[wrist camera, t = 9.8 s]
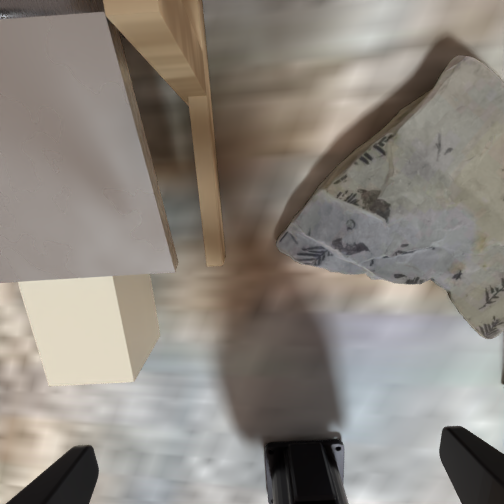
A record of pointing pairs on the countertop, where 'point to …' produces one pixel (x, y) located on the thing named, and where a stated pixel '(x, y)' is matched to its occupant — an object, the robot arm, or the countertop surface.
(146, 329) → the limestone block
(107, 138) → the trapdoor
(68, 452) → the robot arm
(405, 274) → the fossil rock
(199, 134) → the stand
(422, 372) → the countertop surface
